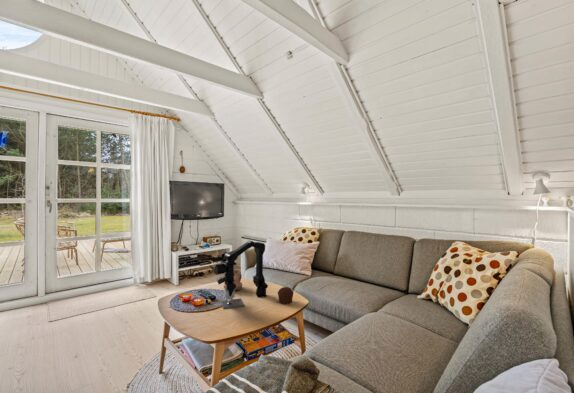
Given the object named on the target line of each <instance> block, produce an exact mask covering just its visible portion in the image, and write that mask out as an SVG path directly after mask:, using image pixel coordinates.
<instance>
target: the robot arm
mask: <svg viewBox="0 0 574 393" xmlns="http://www.w3.org/2000/svg"><path fill="white" fill-rule="evenodd" d="M250 248H253V250H254V252H255V256H256V257H255V263H256V264H255V275H253V276H252V278H253V281H252V282H253V284H254V285H255V287H256V289H255V291H256V293H255V296H257V298H264V297H268V295H267V289H268V288H269V285H268V284H267V283H266V281H265V280H266V279H265V276H264V272H263V271H264V267H263V266H264V253H265V252H266V244H265V243H264V242H260V241H253V240H247V241H246V242H245V243H243V244H242V245H241V246H239V247H238V248H236V249H234V250H232V251H228V252H226V253H225V254H224V256H223V259H222V260H221V262H220V263H215V266H214V268H213V273H214V274H215V275H216V276H217V275H221V276H218V277H217V278H216V282H217V283H218V285H221V284H226V289H228V292H229V296H231V295H232V293H233V291H234V289H235V288H236V284H235V283H234V269H235V266H237V264H238V263H237V262H235V261H236V260H238V257H239V256H240V255H242V254H244V253H245V252H246V251H247V250H249V249H250Z"/></svg>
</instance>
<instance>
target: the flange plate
mask: <svg viewBox="0 0 574 393" xmlns="http://www.w3.org/2000/svg"><path fill="white" fill-rule="evenodd" d="M243 301H244V300H243V299H242V298H241V297H240V298H234V299H232V298H227V300H221V301H220V303H221V306H222V310H225V309H233V308H241V307H245V303H244V302H243Z"/></svg>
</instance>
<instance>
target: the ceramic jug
mask: <svg viewBox="0 0 574 393" xmlns="http://www.w3.org/2000/svg"><path fill="white" fill-rule="evenodd" d="M241 280H242V270H240V269H235V268H234V283H235V284H236V288H235V289H234V290H235V292H236V291H238V290H241V289H242V287H243V283H242V281H241ZM225 288H226V284H225V283H223V289H225Z"/></svg>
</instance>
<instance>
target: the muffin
mask: <svg viewBox="0 0 574 393" xmlns="http://www.w3.org/2000/svg"><path fill="white" fill-rule="evenodd" d="M277 294H278V295H277V297H278V302H279V303H281V305H290V303H291V304H292V303H293V297H294V291H293V289H292V288H290V287H288V286H283V287H281V288H280V289H278V291H277Z"/></svg>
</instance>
